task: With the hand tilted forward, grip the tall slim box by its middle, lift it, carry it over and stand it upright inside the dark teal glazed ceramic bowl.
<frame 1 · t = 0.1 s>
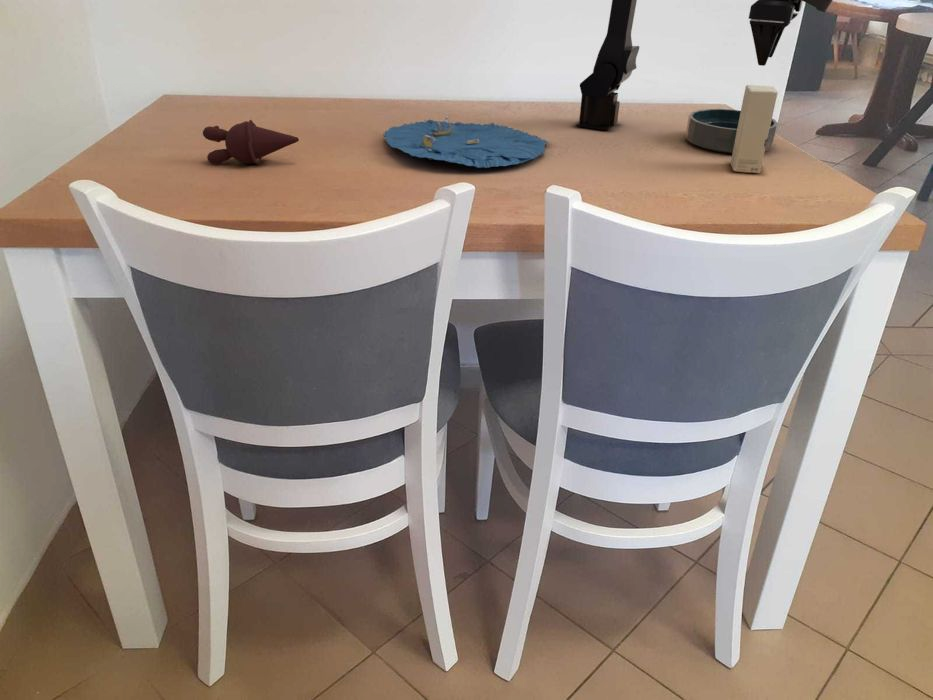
hand: (765, 61, 126), 15 cm above the table, tool pointing down, fingers open, 9 cm apart
decorative plate: (461, 148, 129), on the table
bowl: (727, 143, 135), on the table
icecream: (254, 164, 119), on the table
box: (744, 169, 122), on the table
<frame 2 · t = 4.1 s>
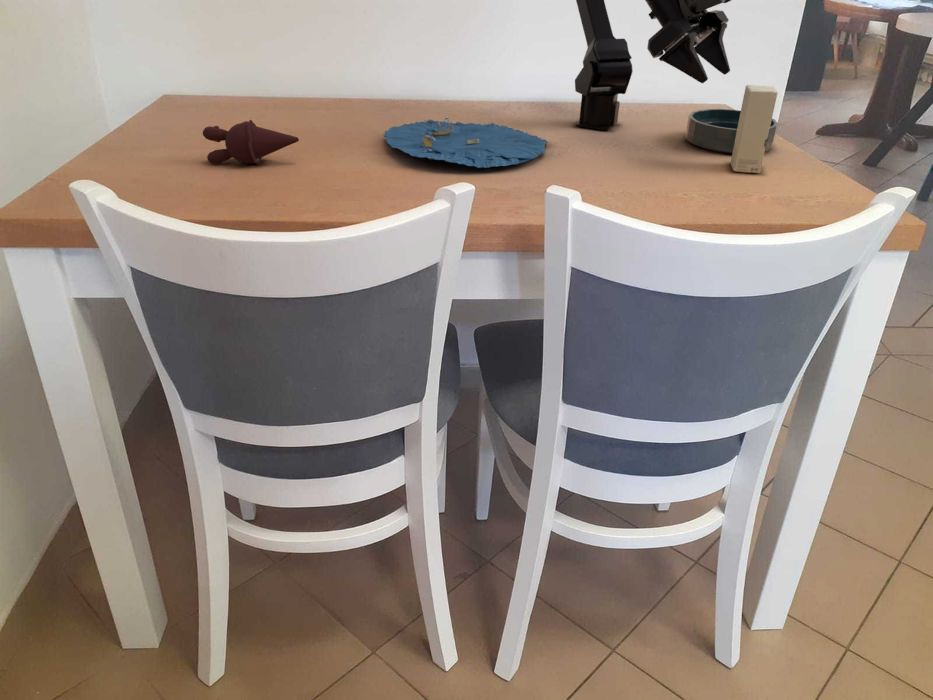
hand: (716, 77, 119), 13 cm above the table, tool tilted 45°, fingers open, 9 cm apart
nothing on the table moved.
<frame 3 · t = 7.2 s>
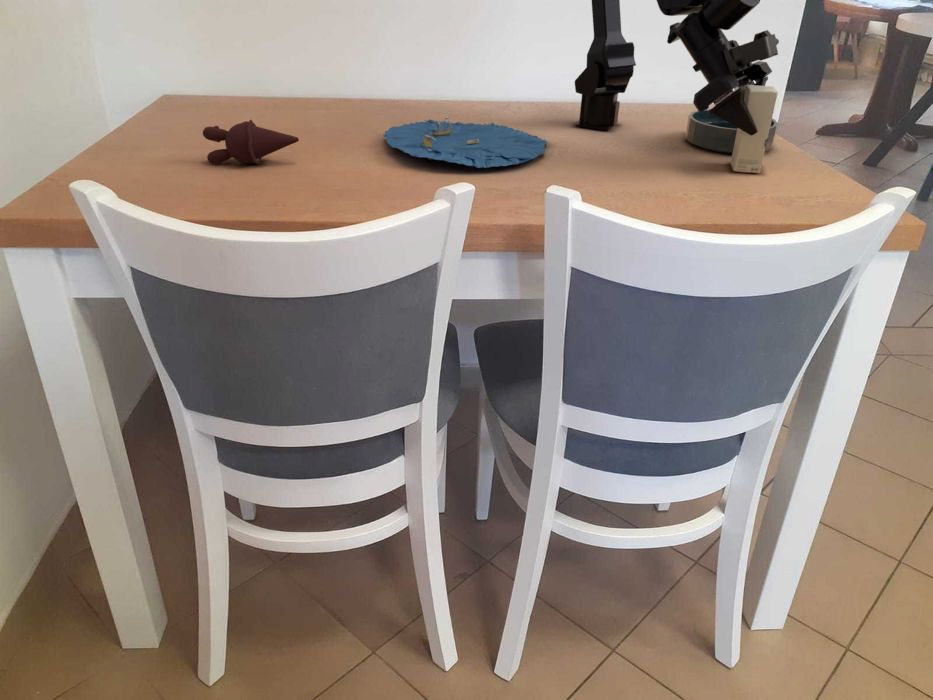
hand: (761, 130, 118), 7 cm above the table, tool tilted 45°, fingers closed on box, 6 cm apart
box: (744, 169, 122), on the table, touching gripper
everything else where it was.
when the fingers open (7 cm above the table, at t = 14.1 s): box stays where it is, resting on bowl.
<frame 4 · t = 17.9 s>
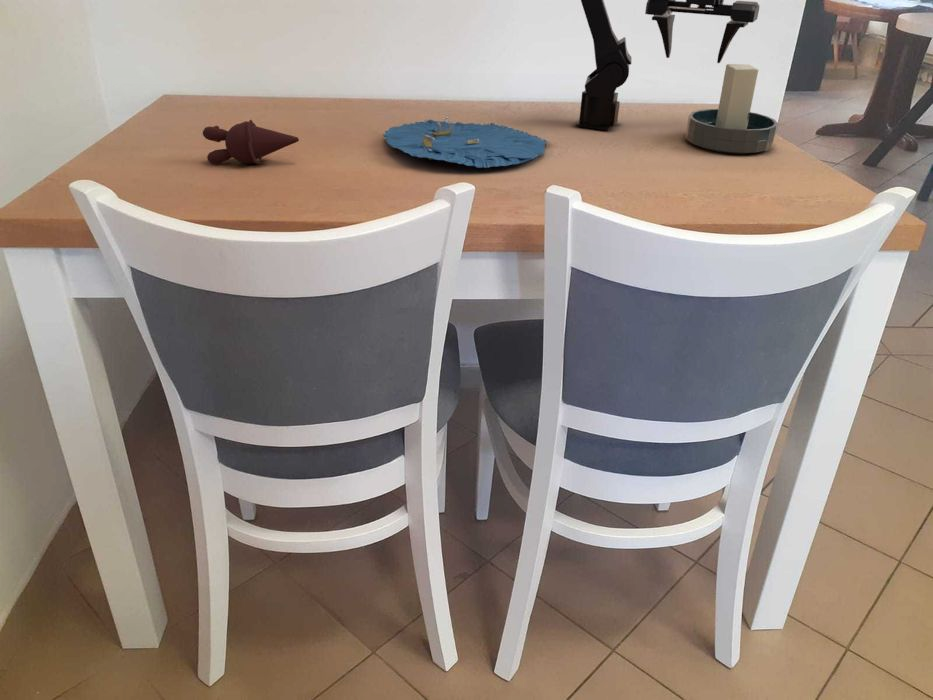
hand: (693, 60, 135), 13 cm above the table, tool pointing down, fingers open, 9 cm apart
box: (727, 141, 135), resting on bowl
everything else where it was.
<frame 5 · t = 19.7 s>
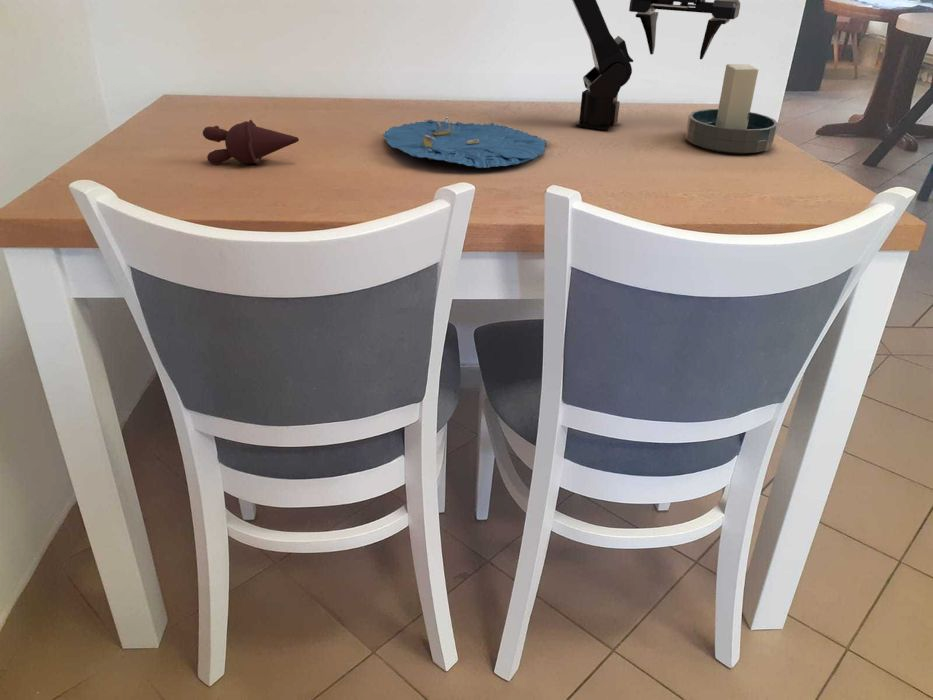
hand: (676, 56, 137), 13 cm above the table, tool pointing down, fingers open, 9 cm apart
nothing on the table moved.
at the end: box inside the target area in the bowl (0.1 cm from its centre), point 0.4 cm above the bowl's base; box tilted 0° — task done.
